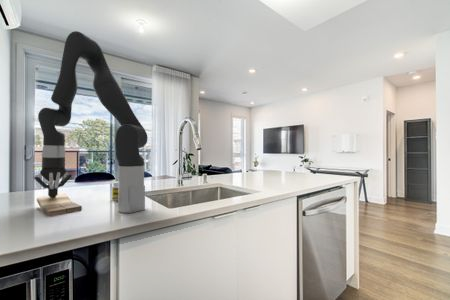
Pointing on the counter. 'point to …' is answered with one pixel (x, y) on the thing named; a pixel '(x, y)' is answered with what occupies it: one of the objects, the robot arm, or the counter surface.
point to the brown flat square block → (61, 208)
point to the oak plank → (53, 200)
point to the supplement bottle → (115, 191)
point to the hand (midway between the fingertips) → (52, 197)
